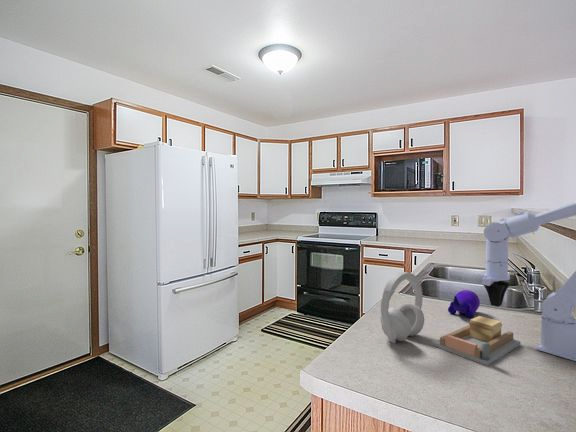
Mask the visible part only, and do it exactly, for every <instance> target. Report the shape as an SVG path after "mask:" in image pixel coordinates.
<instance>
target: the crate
mask: <svg viewBox="0 0 576 432" xmlns="http://www.w3.org/2000/svg"><path fill="white" fill-rule="evenodd" d="M468 325H470V337H473V338H476V339H479V340H483V341H486V342H489V341H491V340H493V339H495V338H497V337H499V336H501V335H502V327H503V324H502V321H501V320H497V319H492V318H489V317H486V316H481V315H478V316H476V317H473V318H470V319H469V323H468Z"/></svg>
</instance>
